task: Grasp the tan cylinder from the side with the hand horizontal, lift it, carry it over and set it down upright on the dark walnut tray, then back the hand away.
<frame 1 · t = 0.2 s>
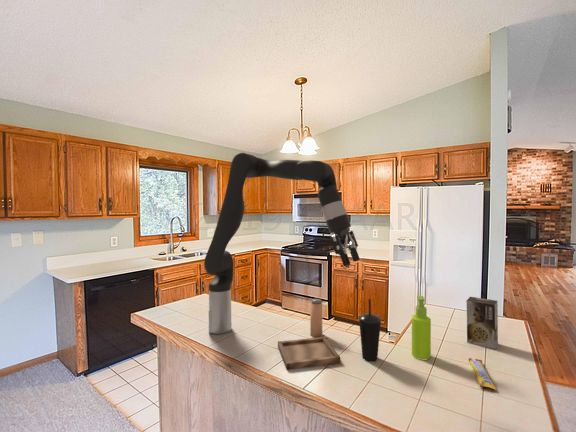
hand: (352, 263, 96), 33 cm above the worktop, tool tilted 20°, fingers open, 8 cm apart
candy bar: (480, 377, 88), on the worktop
tan cylinder: (316, 334, 118), on the worktop
coffee box: (482, 343, 109), on the worktop
soap dispenser: (421, 355, 101), on the worktop
drinking cup: (370, 358, 99), on the worktop
tray: (307, 354, 102), on the worktop
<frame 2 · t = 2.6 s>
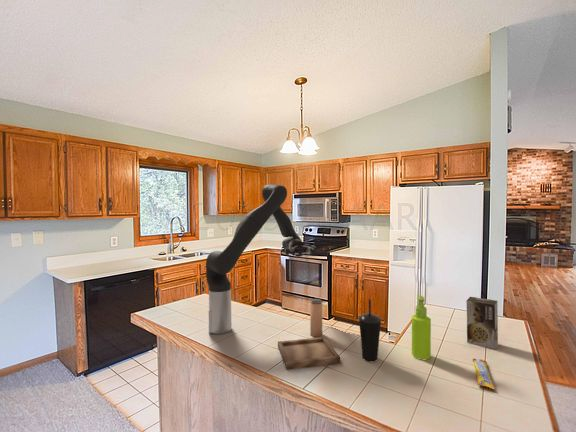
hand: (303, 252, 127), 32 cm above the worktop, tool horizontal, fingers open, 8 cm apart
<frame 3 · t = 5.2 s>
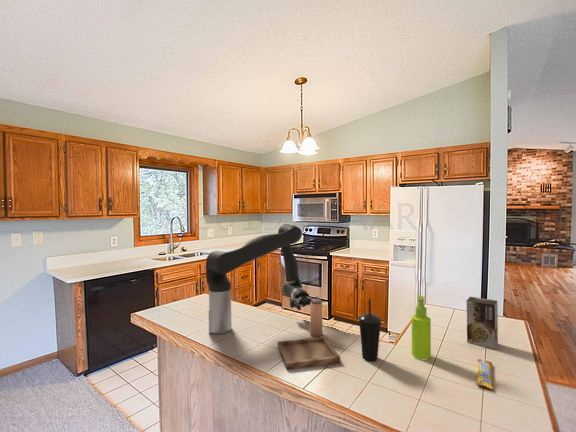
hand: (309, 307, 128), 8 cm above the worktop, tool horizontal, fingers open, 8 cm apart
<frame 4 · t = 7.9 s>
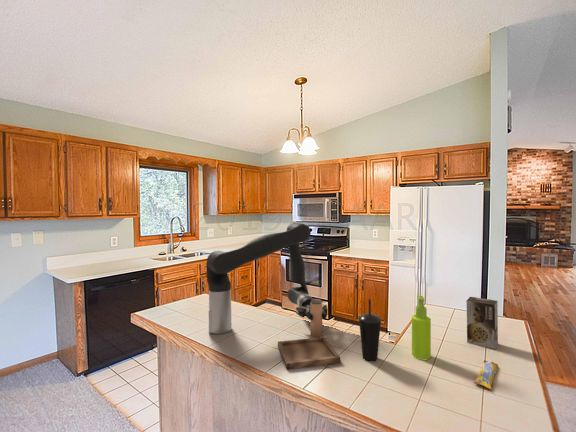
hand: (318, 317, 115), 8 cm above the worktop, tool horizontal, fingers closed on tan cylinder, 4 cm apart
tan cylinder: (316, 334, 118), on the worktop, touching gripper
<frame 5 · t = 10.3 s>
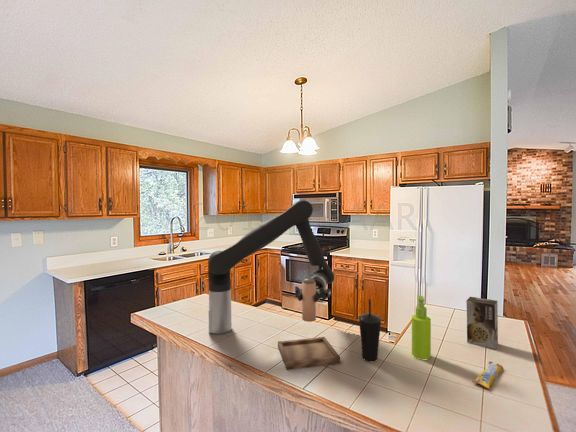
hand: (307, 298, 100), 20 cm above the worktop, tool horizontal, fingers closed on tan cylinder, 4 cm apart
tan cylinder: (309, 319, 103), point 12 cm above the worktop, touching gripper
when the fingers open (10 cm above the worktop, at t = 12.7 s): tan cylinder drops 1 cm, resting on tray.
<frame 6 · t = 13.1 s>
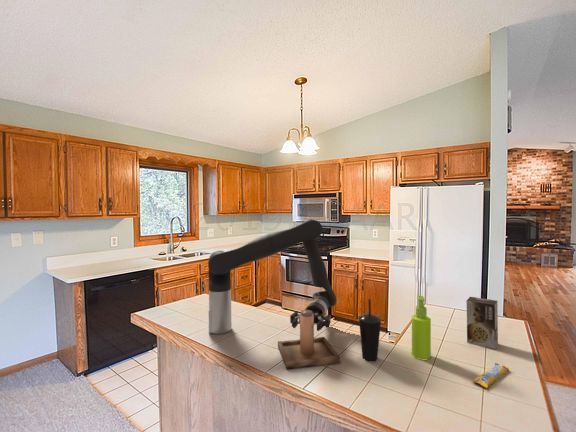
hand: (305, 326, 100), 10 cm above the worktop, tool horizontal, fingers open, 8 cm apart
tan cylinder: (307, 351, 102), point 1 cm above the worktop, touching tray
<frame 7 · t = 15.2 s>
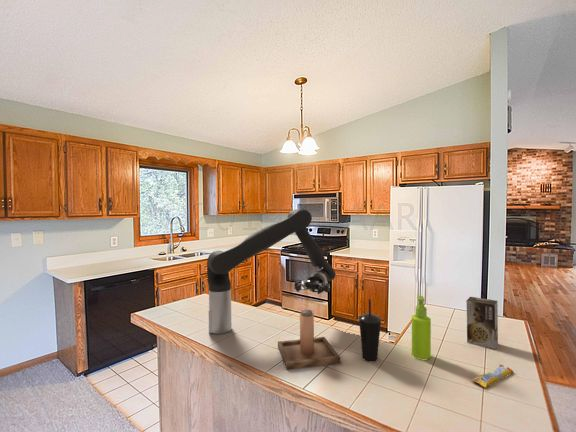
hand: (307, 290, 115), 19 cm above the worktop, tool horizontal, fingers open, 8 cm apart
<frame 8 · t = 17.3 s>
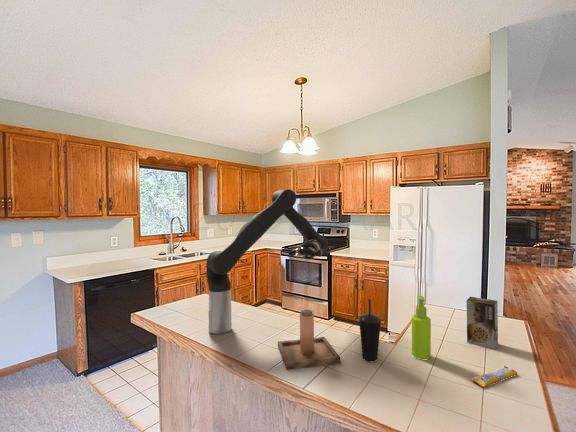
hand: (301, 254, 121), 32 cm above the worktop, tool horizontal, fingers open, 8 cm apart
at the end: tan cylinder inside the target area on the tray (0.1 cm from its centre), point 1.0 cm above the tray's base; tan cylinder tilted 0°; the gripper is holding nothing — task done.
